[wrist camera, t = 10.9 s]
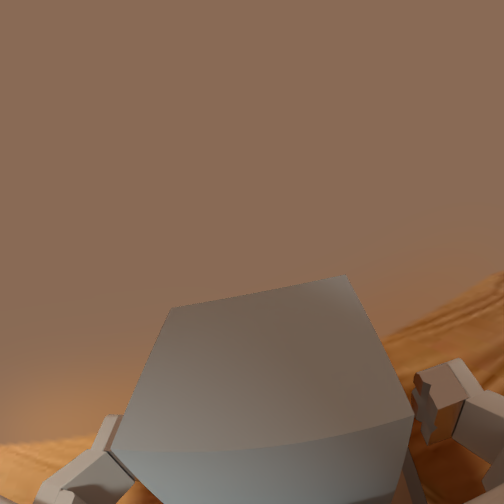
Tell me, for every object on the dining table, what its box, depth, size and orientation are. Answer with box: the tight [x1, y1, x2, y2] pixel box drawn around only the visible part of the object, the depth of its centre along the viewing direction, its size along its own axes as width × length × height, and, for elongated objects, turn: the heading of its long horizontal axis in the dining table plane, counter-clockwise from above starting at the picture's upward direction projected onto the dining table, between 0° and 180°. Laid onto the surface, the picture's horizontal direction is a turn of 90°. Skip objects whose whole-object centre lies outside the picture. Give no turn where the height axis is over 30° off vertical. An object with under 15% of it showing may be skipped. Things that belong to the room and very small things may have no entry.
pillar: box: [110, 275, 415, 504], centre depth 8 cm, size 5×5×10 cm
